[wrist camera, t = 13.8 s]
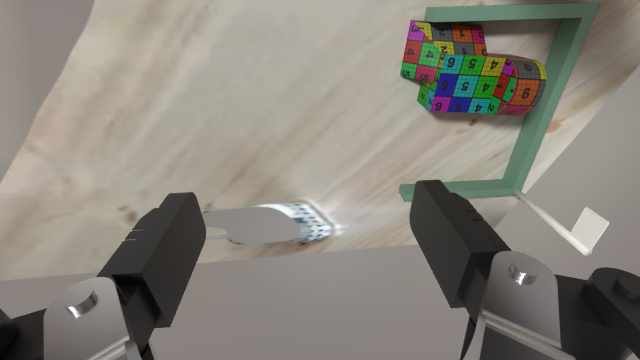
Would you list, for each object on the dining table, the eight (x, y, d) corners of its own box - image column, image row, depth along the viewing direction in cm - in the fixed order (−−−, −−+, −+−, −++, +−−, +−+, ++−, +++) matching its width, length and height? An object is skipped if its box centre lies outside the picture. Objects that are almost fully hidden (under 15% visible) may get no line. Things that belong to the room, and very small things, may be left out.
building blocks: (519, 27, 37) (572, 32, 30) (490, 103, 43) (529, 123, 35) (410, 20, 36) (438, 23, 29) (394, 99, 41) (414, 118, 34)
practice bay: (426, 7, 35) (514, 6, 21) (579, 3, 36) (767, -1, 21) (399, 191, 50) (439, 266, 35) (507, 185, 51) (591, 256, 36)
